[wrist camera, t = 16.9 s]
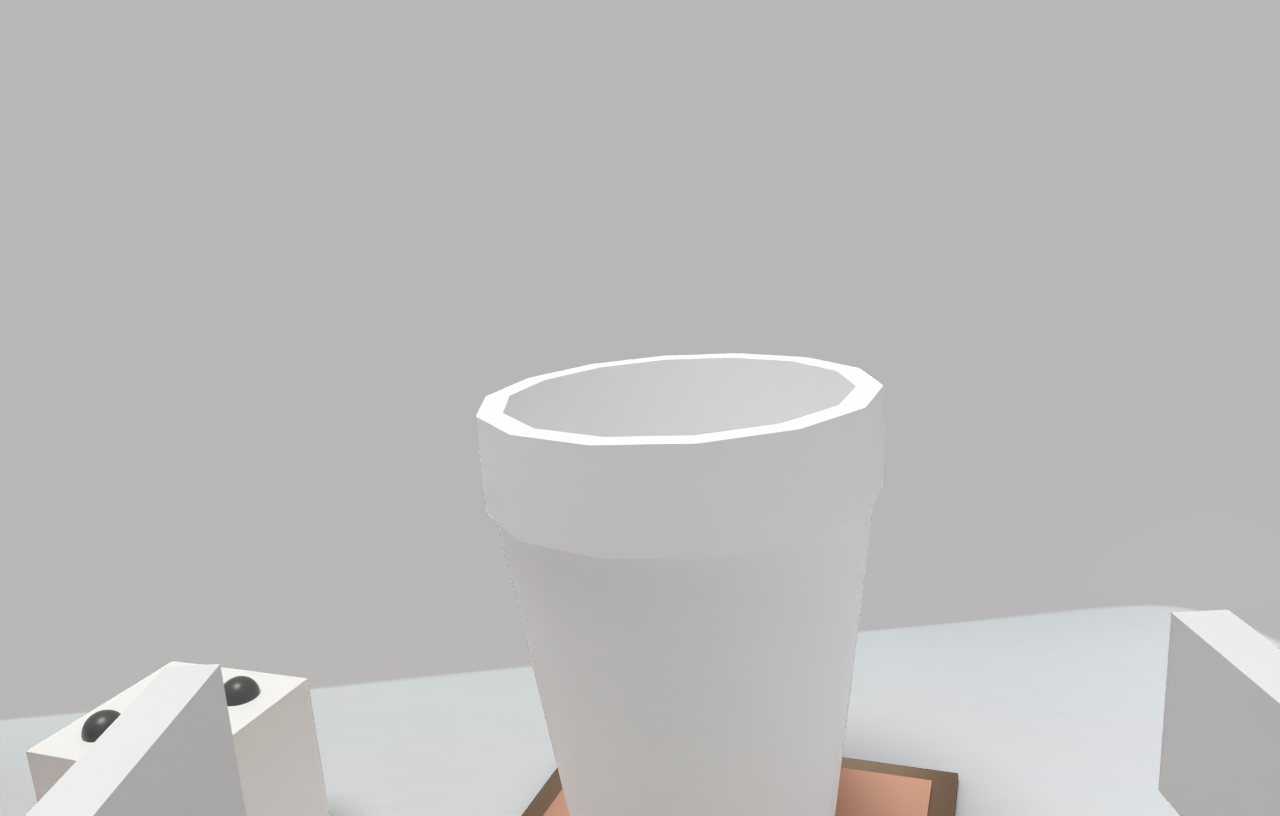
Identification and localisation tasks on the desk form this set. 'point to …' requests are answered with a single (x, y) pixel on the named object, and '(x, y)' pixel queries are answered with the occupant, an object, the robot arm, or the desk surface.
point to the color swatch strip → (867, 794)
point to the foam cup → (690, 573)
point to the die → (262, 733)
